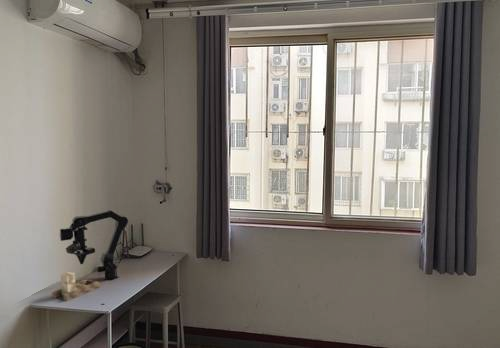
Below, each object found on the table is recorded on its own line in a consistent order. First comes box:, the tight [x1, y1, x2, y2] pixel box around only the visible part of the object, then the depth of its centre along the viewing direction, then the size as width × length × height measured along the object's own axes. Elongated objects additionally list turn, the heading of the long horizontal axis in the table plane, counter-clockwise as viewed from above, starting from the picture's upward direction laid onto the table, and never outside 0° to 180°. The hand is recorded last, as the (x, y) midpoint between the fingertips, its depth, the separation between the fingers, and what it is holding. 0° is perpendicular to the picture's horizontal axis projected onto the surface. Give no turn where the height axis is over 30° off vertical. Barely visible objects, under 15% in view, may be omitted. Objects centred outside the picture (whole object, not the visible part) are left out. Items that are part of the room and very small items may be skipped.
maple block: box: [60, 271, 77, 292], centre depth 232 cm, size 5×5×9 cm
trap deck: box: [51, 279, 101, 302], centre depth 236 cm, size 22×12×3 cm, turn 151°
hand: (81, 264), depth 249 cm, fingers closed
